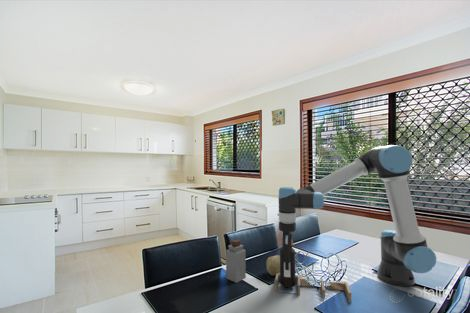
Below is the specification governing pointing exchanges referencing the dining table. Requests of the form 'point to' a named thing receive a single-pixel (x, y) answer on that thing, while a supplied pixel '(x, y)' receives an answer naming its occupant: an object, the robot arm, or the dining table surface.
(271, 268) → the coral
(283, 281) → the vinegar
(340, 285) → the comb rack
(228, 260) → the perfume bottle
